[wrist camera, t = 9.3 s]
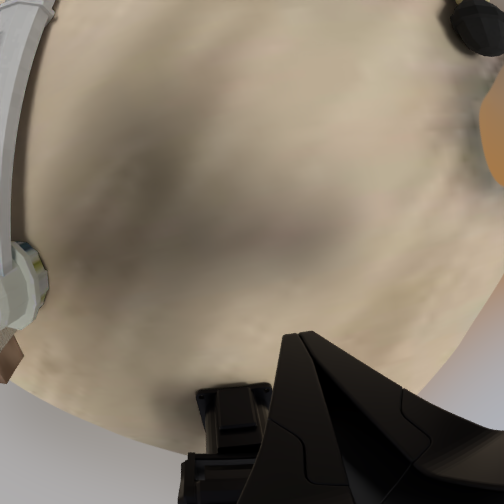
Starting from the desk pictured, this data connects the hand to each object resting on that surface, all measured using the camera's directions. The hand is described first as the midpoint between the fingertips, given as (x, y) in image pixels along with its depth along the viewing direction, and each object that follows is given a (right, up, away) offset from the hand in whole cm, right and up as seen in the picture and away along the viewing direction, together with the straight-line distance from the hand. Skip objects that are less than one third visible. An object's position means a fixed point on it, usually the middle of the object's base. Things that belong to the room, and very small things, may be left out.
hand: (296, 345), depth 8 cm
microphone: (+16, +28, +5) cm, 33 cm away
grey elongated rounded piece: (-17, +10, +7) cm, 21 cm away
